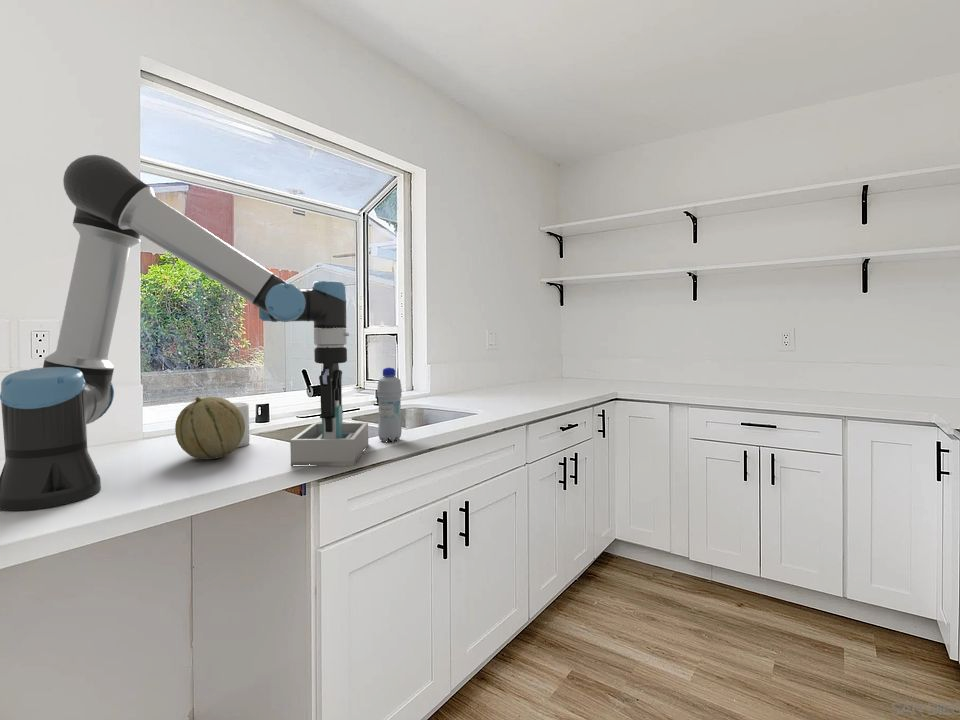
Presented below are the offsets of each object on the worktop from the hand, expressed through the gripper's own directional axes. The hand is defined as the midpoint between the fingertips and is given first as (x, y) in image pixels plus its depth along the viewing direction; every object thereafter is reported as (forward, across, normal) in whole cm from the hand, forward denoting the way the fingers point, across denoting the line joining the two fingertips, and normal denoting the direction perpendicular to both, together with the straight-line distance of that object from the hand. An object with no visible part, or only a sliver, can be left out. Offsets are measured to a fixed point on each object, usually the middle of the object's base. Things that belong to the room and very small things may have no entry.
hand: (332, 442), depth 127 cm
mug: (+3, +10, +30) cm, 32 cm away
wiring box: (+3, 0, 0) cm, 3 cm away
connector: (+1, 0, 0) cm, 1 cm away
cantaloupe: (+3, -2, +28) cm, 28 cm away
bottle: (+3, +16, -12) cm, 20 cm away
